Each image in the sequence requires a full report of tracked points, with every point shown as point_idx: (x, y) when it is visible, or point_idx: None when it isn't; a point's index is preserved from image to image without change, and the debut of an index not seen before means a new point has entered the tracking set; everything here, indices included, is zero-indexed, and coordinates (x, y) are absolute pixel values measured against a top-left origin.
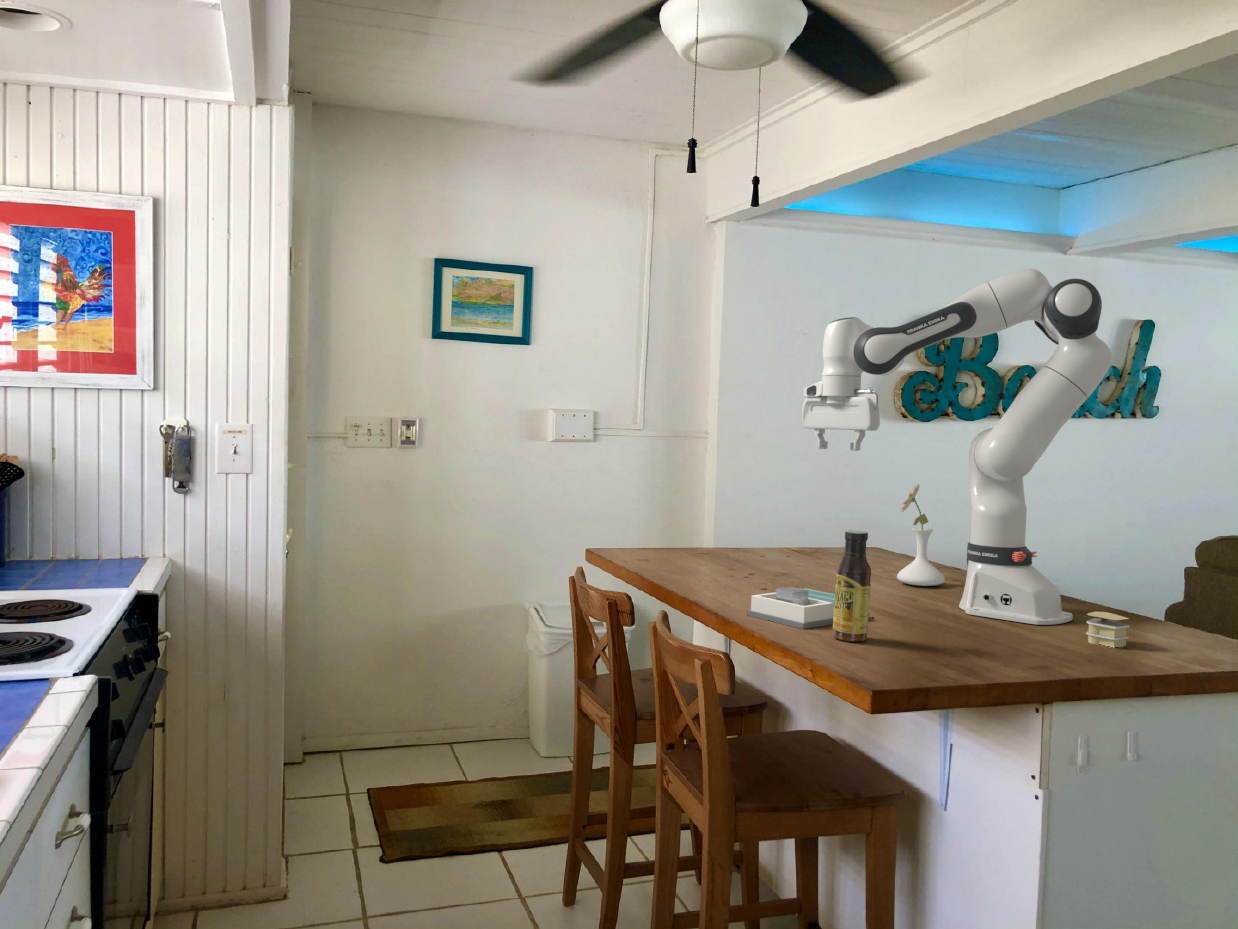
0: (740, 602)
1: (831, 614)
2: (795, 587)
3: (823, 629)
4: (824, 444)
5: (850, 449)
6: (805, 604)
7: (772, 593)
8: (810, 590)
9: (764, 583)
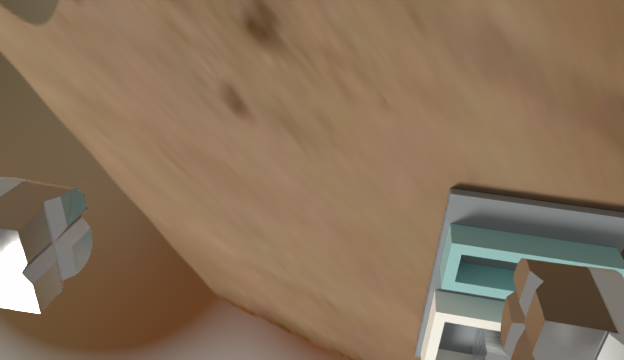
0: (323, 268)
1: None
2: (500, 357)
3: None
4: (56, 258)
5: (502, 329)
6: None
7: (436, 336)
8: (476, 256)
9: (173, 29)
